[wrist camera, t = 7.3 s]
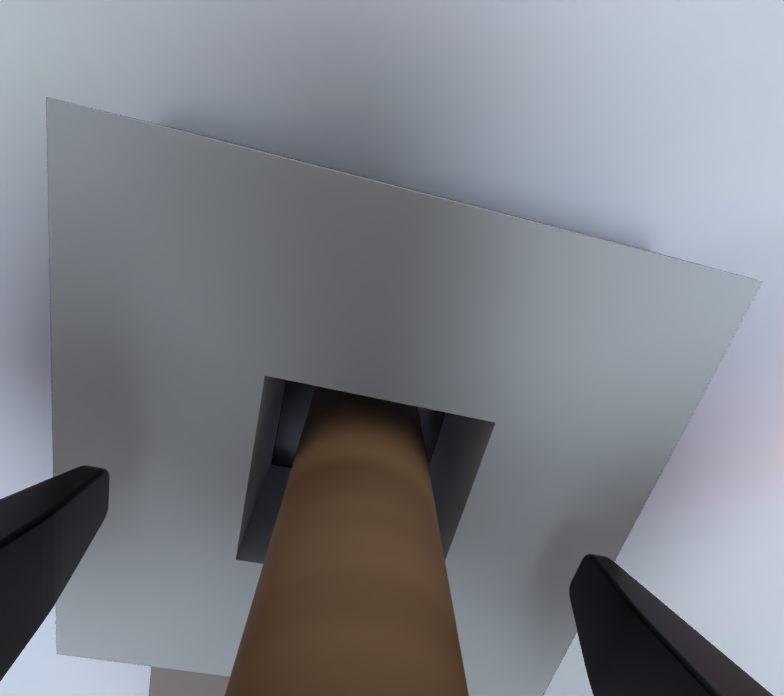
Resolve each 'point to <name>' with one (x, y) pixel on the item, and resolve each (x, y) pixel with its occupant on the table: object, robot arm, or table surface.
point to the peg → (353, 566)
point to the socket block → (347, 382)
